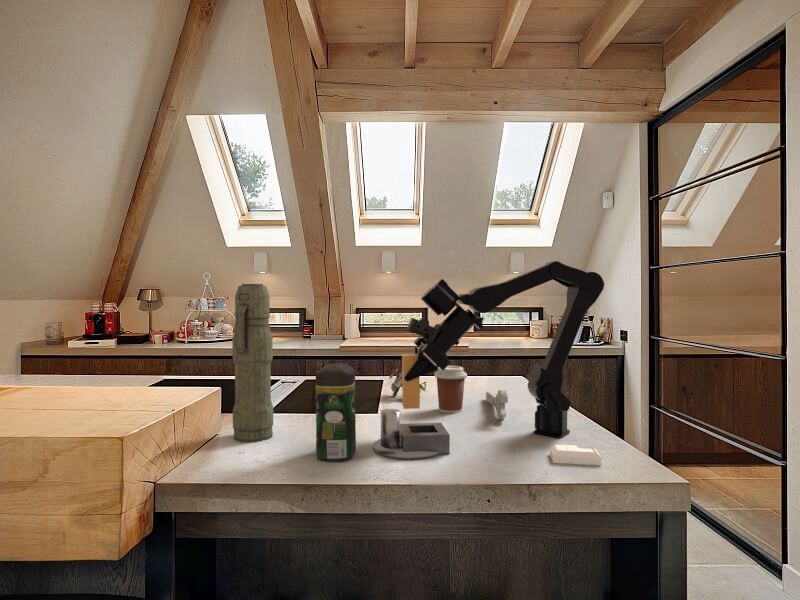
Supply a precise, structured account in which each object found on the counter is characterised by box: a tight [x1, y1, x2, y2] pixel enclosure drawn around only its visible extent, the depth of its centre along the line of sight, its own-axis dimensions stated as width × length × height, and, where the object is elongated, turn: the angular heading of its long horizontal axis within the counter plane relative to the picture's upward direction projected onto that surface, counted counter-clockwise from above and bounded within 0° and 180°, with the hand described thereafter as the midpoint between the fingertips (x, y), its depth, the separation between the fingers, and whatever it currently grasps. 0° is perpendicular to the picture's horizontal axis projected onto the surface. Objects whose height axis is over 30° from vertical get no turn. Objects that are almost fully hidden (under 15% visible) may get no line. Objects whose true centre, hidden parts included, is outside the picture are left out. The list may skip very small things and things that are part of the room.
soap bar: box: [549, 444, 602, 466], centre depth 102 cm, size 5×9×3 cm, turn 80°
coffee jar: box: [314, 362, 357, 462], centre depth 104 cm, size 10×8×19 cm
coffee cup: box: [433, 365, 468, 414], centre depth 143 cm, size 9×9×12 cm
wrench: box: [485, 389, 509, 421], centre depth 142 cm, size 8×2×30 cm
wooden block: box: [401, 353, 421, 410], centre depth 118 cm, size 4×4×12 cm
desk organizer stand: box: [373, 408, 451, 461], centre depth 109 cm, size 15×15×8 cm
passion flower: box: [388, 368, 427, 398], centre depth 160 cm, size 11×11×12 cm
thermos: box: [232, 283, 274, 443], centre depth 117 cm, size 9×12×35 cm
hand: (404, 378), depth 118 cm, fingers closed on wooden block, 4 cm apart
